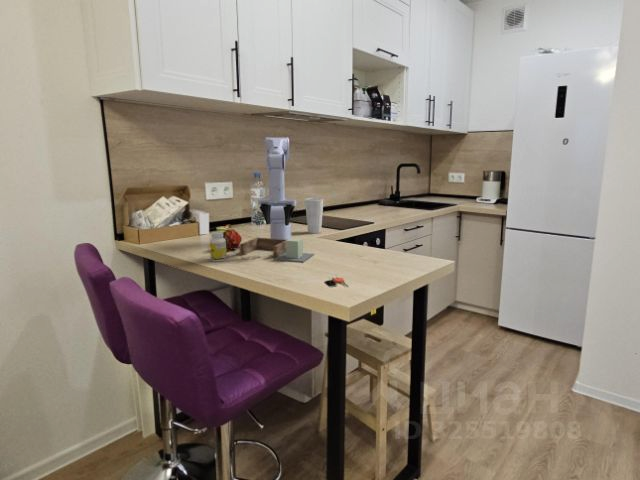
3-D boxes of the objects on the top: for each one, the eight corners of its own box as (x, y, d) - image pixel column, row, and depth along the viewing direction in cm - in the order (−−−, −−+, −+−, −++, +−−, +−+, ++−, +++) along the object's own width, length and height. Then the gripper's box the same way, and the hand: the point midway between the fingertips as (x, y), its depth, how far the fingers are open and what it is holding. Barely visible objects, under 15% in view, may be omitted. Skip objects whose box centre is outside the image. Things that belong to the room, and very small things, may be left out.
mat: (286, 252, 154) (286, 251, 154) (314, 254, 151) (314, 253, 151) (273, 260, 144) (273, 258, 144) (303, 262, 141) (303, 261, 140)
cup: (301, 232, 193) (301, 199, 190) (315, 229, 199) (315, 197, 195) (313, 234, 187) (313, 200, 184) (327, 232, 192) (327, 199, 189)
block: (291, 254, 150) (290, 238, 149) (302, 255, 149) (302, 238, 147) (286, 257, 146) (285, 240, 145) (298, 258, 145) (297, 241, 143)
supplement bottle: (210, 258, 146) (208, 231, 144) (225, 257, 148) (224, 230, 146) (211, 262, 142) (210, 234, 139) (228, 261, 143) (226, 233, 141)
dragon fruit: (223, 257, 155) (233, 254, 167) (241, 244, 154) (249, 241, 166) (210, 238, 155) (221, 236, 167) (228, 225, 154) (237, 224, 166)
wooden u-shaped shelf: (256, 247, 163) (256, 237, 162) (290, 250, 159) (290, 239, 158) (240, 254, 152) (240, 244, 151) (276, 257, 147) (276, 246, 146)
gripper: (253, 188, 149) (255, 225, 152) (290, 189, 145) (291, 227, 147) (262, 186, 156) (263, 222, 159) (298, 187, 151) (298, 224, 154)
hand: (277, 224), depth 153 cm, fingers open, 7 cm apart
